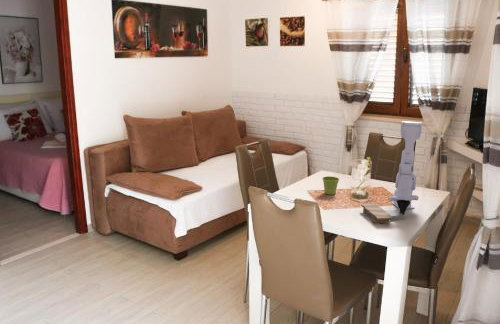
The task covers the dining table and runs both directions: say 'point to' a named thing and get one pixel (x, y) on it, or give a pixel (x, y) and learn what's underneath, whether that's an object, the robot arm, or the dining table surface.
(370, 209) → the walnut shelf
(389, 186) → the dining table surface
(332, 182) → the plant pot
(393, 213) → the grey shell
